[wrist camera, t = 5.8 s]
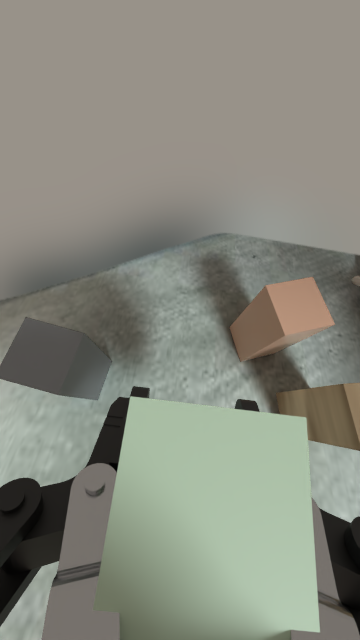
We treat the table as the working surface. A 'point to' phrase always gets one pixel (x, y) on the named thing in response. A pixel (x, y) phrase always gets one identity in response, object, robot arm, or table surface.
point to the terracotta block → (280, 318)
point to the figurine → (356, 280)
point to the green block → (210, 526)
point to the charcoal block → (55, 361)
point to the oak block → (326, 413)
